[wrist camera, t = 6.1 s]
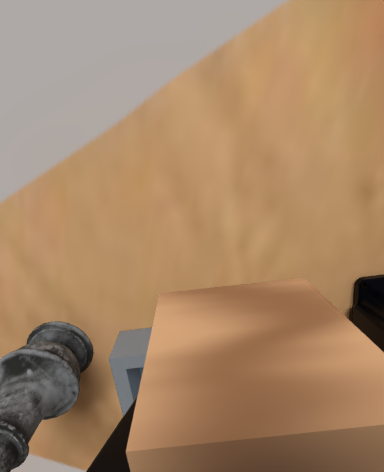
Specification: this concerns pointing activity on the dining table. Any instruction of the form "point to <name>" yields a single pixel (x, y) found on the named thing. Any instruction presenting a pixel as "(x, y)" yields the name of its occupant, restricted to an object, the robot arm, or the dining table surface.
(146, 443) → the light brown block
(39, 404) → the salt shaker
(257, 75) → the dining table surface
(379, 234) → the dining table surface
